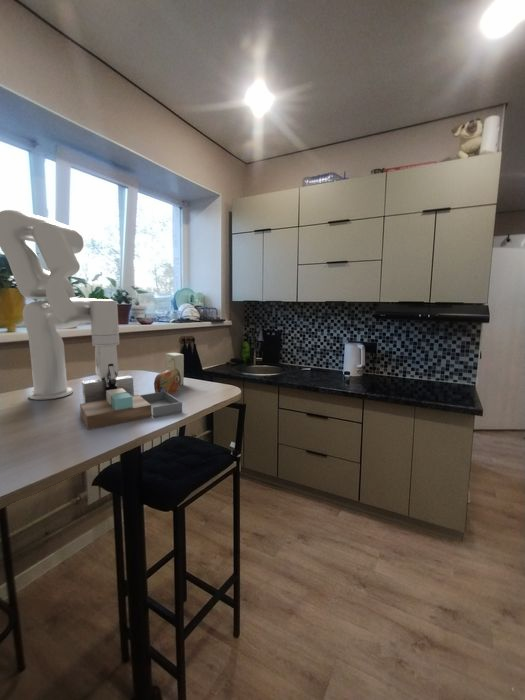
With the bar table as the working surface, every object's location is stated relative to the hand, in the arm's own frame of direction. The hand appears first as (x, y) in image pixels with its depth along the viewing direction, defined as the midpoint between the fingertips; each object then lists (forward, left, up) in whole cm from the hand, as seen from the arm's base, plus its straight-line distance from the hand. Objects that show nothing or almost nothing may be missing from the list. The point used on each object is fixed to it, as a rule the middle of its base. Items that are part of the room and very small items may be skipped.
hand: (109, 396), depth 102 cm
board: (+13, -1, -2) cm, 13 cm away
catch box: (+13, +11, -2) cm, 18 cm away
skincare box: (-11, +26, -3) cm, 28 cm away
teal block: (+16, 0, +1) cm, 16 cm away
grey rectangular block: (0, 0, -3) cm, 3 cm away
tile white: (+10, 0, +1) cm, 10 cm away
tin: (0, +19, -3) cm, 19 cm away
